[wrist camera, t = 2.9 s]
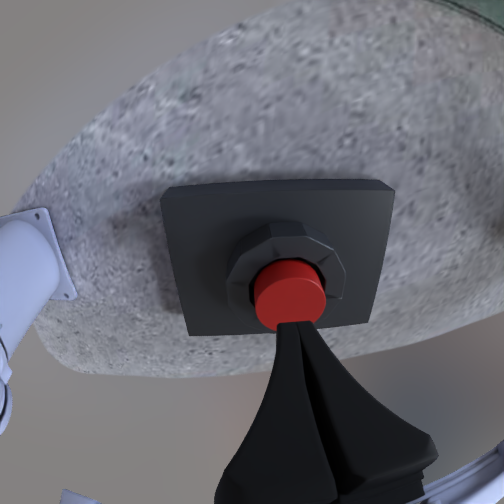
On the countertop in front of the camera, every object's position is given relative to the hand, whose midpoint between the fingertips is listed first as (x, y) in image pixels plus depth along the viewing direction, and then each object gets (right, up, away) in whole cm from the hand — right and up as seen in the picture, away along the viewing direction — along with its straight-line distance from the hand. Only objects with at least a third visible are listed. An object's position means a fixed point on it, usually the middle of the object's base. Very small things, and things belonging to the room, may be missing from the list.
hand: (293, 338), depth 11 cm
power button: (0, +2, +4) cm, 5 cm away
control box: (0, +3, +8) cm, 8 cm away
